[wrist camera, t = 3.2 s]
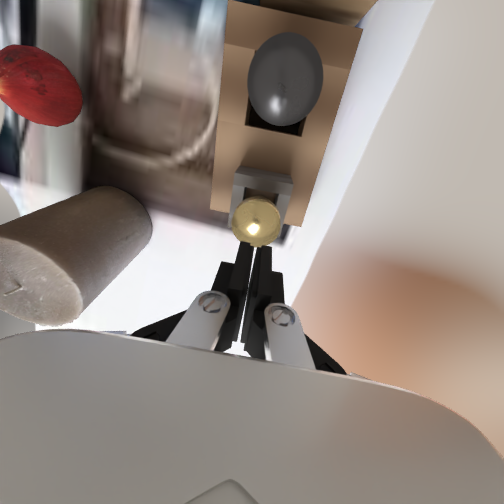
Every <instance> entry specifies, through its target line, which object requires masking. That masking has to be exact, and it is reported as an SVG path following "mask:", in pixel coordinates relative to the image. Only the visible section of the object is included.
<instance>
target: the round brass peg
mask: <svg viewBox="0 0 504 504" xmlns="http://www.w3.org/2000/svg"><path fill="white" fill-rule="evenodd" d="M231 225H232V230H233V233H234V235H235V236H236V238H237V239H238V240H239V241H240V242H241V241H244V242H249V243H251V244H250V245H251V246H254V247H261V245H265V246H266V245H268V244H270V243H271V242H273V241H274V240H275V239H276V237H277V236H278V234H279V232H280V227H281V222H280V214H279V211H278V209H277V207H276V206H275V204H274V203H273V202H271V201H270V200H268V199H266V198H265V197H263V196H254V197H250V198H247V199H245V200H243V201H242V202H241V203H240V204H239V205H238V206H237V208H236V210H235V212H234V214H233V217H232V222H231Z"/></svg>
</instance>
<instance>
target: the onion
mask: <svg viewBox="0 0 504 504" xmlns="http://www.w3.org/2000/svg"><path fill="white" fill-rule="evenodd" d="M0 98H1V100H2V101H3V102H5V103H6V104H7V105H8V106H9V107H10V108H11V109H12V110H13V111H15V112H16V113H18V114H19V115H21V116H23V117H25V118H27V119H28V120H30V121H32V122H35V123H38V124H43V125H48V126H55V127H59V126H62V125H65V124H69V123H71V122H74V120H75V119H76V118H77V116H78V115H79V114H80V112H81V109H82V104H83V100H82V93H81V90H80V88H79V85H78V83H77V81H76V79H75V78H74V76H73V75H72V74H71V73H70V71H69V70H68V69H67V67H66V66H65V65H64V64H63V63H62V62H61V61H60V60H58V59H56V58H55V57H53V56H52V55H50V54H49V53H47V52H45V51H43V50H41V49H39V48H37V47H31V46H24V45H10V46H7V47H5V48H4V49H2V50H0Z"/></svg>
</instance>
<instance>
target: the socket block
mask: <svg viewBox="0 0 504 504" xmlns="http://www.w3.org/2000/svg"><path fill="white" fill-rule="evenodd" d="M362 31H363V29H361V28H357V27H352V26H347V25H343V24H338V23H334V22H329V21H325V20H320V19H315V18H311V17H306V16H302V15H297V14H292V13H288V12H283V11H279V10H274V9H269V8H265V7H260V6H256V5H251V4H246V3H242V2H237V1H233V0H228V7H227V19H226V30H225V42H224V54H223V65H222V77H221V88H220V100H219V112H218V123H217V135H216V146H215V158H214V170H213V181H212V193H211V205H210V209H212V210H217V211H222V212H227V213H229V219H228V227H229V228H232V225H231V222H232V217H233V214H234V212H235V210H236V208H237V206H238V205H239V204H240V203H241V202H242V201H243V200H245V199H247V198H250V197H254V196H263V197H265V198H266V199H268V200H270V201H271V202H273V203H274V204H275V206H276V207H277V209H278V211H279V214H280V222H281V227H280V232H279V234H278V236H277V237H280V234H281V230H282V226H283V223H284V224H289V225H294V226H299V227H301V226H302V223H303V219H304V216H305V213H306V210H307V207H308V203H309V200H310V197H311V194H312V191H313V187H314V184H315V181H316V178H317V175H318V172H319V168H320V165H321V162H322V159H323V156H324V152H325V149H326V146H327V143H328V140H329V136H330V133H331V130H332V127H333V124H334V121H335V117H336V114H337V111H338V108H339V105H340V101H341V98H342V95H343V92H344V89H345V85H346V82H347V79H348V76H349V73H350V69H351V66H352V63H353V60H354V57H355V54H356V50H357V47H358V44H359V41H360V38H361V34H362ZM284 32H292V33H297V34H300V35H302V36H304V37H306V38H307V39H308V40H310V42H311V43H312V44H313V45H314V46H315V48H316V49H317V51H318V53H319V55H320V58H321V61H322V65H323V86H322V90H321V93H320V96H319V99H318V101H317V103H316V104H315V106H314V108H313V109H312V110H311V112H310V113H309V114H308V115H307V116H306V117H304V118H303V119H302V120H301V121H300V125H299V129H298V133H297V135H296V134H291V133H286V132H281V131H276V130H272V129H267V128H262V127H257V126H252V125H248V124H249V117H250V110H251V101H250V99H249V95H248V88H247V78H248V71H249V67H250V64H251V61H252V59H253V57H254V55H255V53H256V51H257V50H258V49H259V47H260V46H261V45H262V44H263V43H264V42H265V41H266V40H268V39H269V38H271V37H272V36H274V35H277V34H279V33H284Z"/></svg>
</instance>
